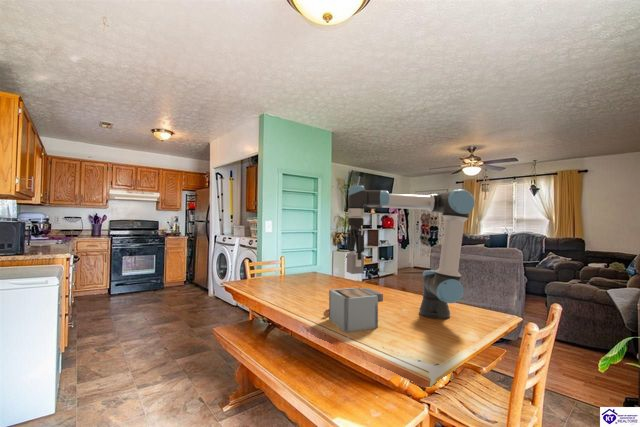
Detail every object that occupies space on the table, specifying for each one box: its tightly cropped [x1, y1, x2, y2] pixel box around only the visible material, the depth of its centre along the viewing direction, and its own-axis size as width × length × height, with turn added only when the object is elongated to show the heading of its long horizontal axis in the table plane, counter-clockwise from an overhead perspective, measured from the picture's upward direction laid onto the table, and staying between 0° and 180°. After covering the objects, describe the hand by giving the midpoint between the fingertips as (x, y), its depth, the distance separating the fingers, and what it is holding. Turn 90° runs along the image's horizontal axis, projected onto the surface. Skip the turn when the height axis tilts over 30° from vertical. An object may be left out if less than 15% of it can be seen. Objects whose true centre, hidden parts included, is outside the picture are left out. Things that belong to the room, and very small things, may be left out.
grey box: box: [328, 287, 379, 333], centre depth 143 cm, size 16×18×14 cm
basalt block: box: [346, 252, 365, 275], centre depth 144 cm, size 6×6×9 cm
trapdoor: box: [338, 287, 384, 303], centre depth 144 cm, size 18×14×4 cm
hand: (355, 265), depth 144 cm, fingers closed on basalt block, 6 cm apart
